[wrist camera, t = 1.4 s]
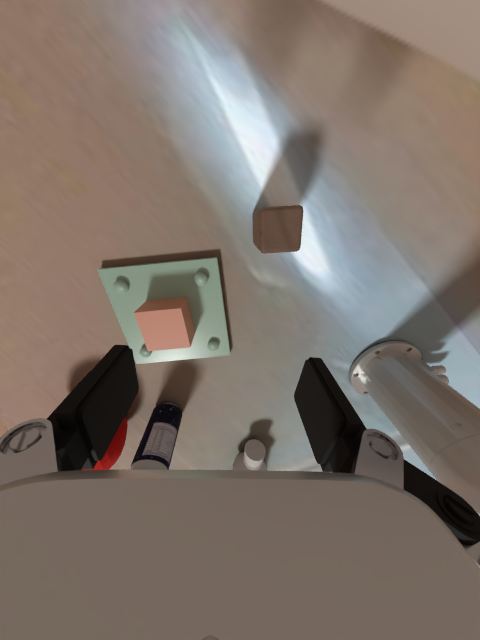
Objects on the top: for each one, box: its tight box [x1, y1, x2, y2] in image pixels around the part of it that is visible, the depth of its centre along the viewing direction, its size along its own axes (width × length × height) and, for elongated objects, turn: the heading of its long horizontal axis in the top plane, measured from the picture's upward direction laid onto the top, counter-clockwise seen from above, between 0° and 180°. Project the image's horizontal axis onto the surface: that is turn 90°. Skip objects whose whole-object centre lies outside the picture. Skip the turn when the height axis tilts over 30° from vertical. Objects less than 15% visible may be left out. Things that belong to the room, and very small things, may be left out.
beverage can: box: [131, 403, 182, 470], centre depth 35 cm, size 6×6×12 cm
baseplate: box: [97, 257, 230, 364], centre depth 30 cm, size 16×16×2 cm
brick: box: [134, 297, 195, 351], centre depth 28 cm, size 6×6×4 cm
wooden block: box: [253, 205, 303, 253], centre depth 22 cm, size 4×4×8 cm
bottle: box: [233, 439, 267, 471], centre depth 48 cm, size 9×9×30 cm
